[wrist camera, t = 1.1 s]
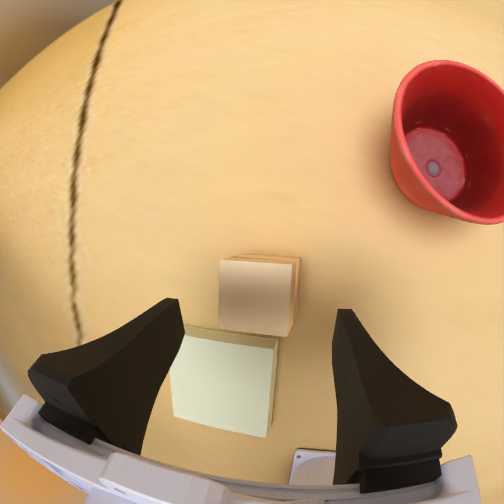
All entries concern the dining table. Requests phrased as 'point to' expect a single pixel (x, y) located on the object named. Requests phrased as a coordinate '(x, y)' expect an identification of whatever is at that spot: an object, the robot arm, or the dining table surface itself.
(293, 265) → the maple block
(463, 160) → the flower pot
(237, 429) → the base block
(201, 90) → the dining table surface
